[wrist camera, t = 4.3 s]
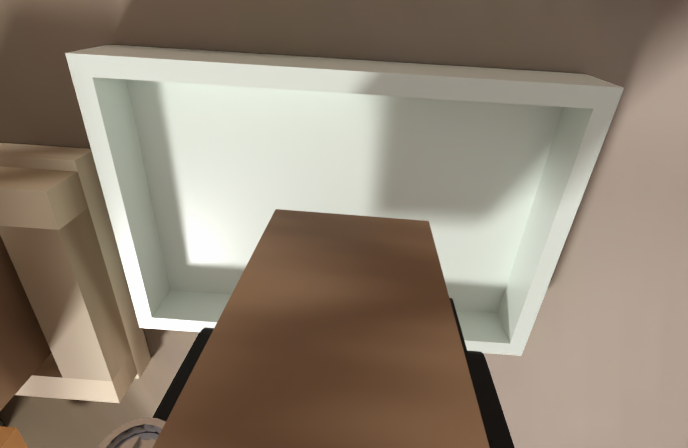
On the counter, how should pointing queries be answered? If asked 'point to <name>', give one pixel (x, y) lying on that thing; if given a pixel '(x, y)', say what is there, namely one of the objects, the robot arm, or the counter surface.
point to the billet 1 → (17, 332)
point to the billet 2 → (333, 345)
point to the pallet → (70, 273)
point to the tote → (337, 169)
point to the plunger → (11, 438)
